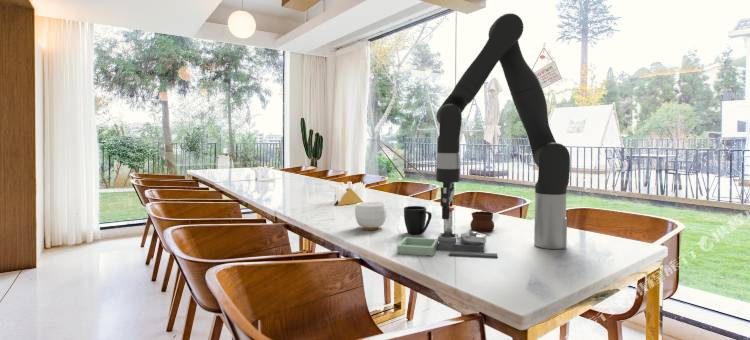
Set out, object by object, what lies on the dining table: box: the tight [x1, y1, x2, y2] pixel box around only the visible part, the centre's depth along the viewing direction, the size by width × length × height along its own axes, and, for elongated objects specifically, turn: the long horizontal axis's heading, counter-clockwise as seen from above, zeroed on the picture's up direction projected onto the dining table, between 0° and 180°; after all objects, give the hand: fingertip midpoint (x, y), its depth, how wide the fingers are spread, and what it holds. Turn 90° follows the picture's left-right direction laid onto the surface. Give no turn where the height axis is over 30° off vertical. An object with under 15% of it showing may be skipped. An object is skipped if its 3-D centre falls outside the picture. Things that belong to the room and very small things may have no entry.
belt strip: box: [448, 250, 498, 259], centre depth 123 cm, size 14×2×1 cm, turn 78°
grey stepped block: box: [437, 230, 487, 253], centre depth 133 cm, size 15×10×5 cm
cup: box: [354, 201, 387, 231], centre depth 162 cm, size 12×12×10 cm
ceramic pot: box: [470, 210, 495, 233], centre depth 156 cm, size 18×18×7 cm
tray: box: [396, 236, 439, 257], centre depth 130 cm, size 11×11×2 cm
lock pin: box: [443, 205, 455, 237], centre depth 134 cm, size 4×4×11 cm
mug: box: [403, 205, 433, 236], centre depth 151 cm, size 8×12×10 cm
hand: (447, 216), depth 134 cm, fingers open, 8 cm apart
